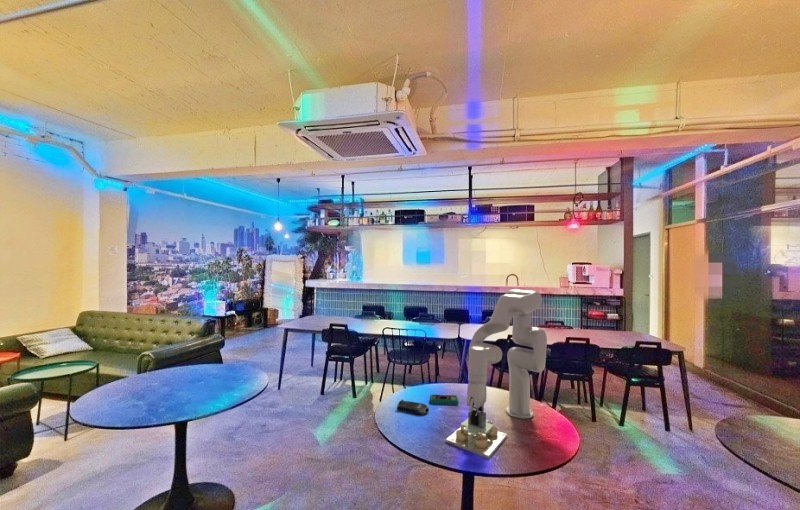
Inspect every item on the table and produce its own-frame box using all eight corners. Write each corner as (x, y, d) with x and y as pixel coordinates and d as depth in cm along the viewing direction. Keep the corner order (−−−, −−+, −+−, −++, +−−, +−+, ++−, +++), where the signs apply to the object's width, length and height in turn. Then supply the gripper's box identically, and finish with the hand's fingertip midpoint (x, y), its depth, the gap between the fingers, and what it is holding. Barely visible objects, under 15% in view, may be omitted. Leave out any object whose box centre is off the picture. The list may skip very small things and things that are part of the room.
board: (471, 416, 144) (472, 403, 144) (496, 424, 137) (496, 410, 137) (457, 428, 133) (457, 414, 133) (482, 437, 126) (483, 422, 126)
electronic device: (396, 415, 159) (426, 416, 154) (395, 403, 160) (425, 403, 155) (402, 410, 168) (431, 410, 163) (402, 398, 169) (430, 398, 164)
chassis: (467, 423, 148) (467, 408, 148) (507, 436, 137) (507, 420, 138) (445, 442, 132) (445, 425, 132) (488, 458, 121) (488, 440, 122)
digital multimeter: (429, 399, 176) (429, 393, 176) (457, 400, 175) (457, 394, 175) (429, 405, 169) (429, 399, 169) (458, 406, 168) (459, 400, 168)
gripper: (477, 370, 145) (477, 412, 144) (460, 380, 131) (459, 427, 131) (494, 374, 140) (493, 417, 139) (477, 385, 127) (477, 433, 126)
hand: (477, 421), depth 135 cm, fingers closed on board, 4 cm apart
